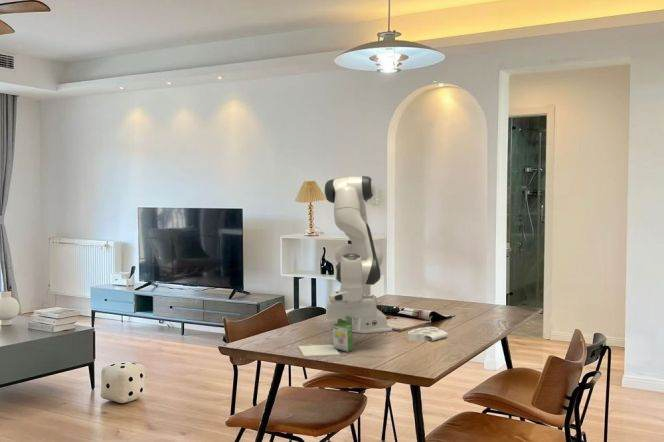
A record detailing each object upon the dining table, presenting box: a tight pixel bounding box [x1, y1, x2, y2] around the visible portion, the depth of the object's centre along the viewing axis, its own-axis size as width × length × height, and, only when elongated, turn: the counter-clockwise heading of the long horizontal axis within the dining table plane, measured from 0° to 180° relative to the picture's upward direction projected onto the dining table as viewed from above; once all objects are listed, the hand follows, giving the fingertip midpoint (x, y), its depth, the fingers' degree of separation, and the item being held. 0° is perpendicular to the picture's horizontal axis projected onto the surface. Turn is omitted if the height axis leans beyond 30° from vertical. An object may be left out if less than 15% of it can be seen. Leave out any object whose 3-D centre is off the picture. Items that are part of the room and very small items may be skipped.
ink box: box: [332, 316, 354, 353], centre depth 258 cm, size 7×4×13 cm, turn 56°
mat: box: [297, 344, 341, 358], centre depth 258 cm, size 14×16×1 cm
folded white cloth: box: [407, 326, 449, 343], centre depth 283 cm, size 3×18×15 cm
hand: (351, 329), depth 260 cm, fingers closed
